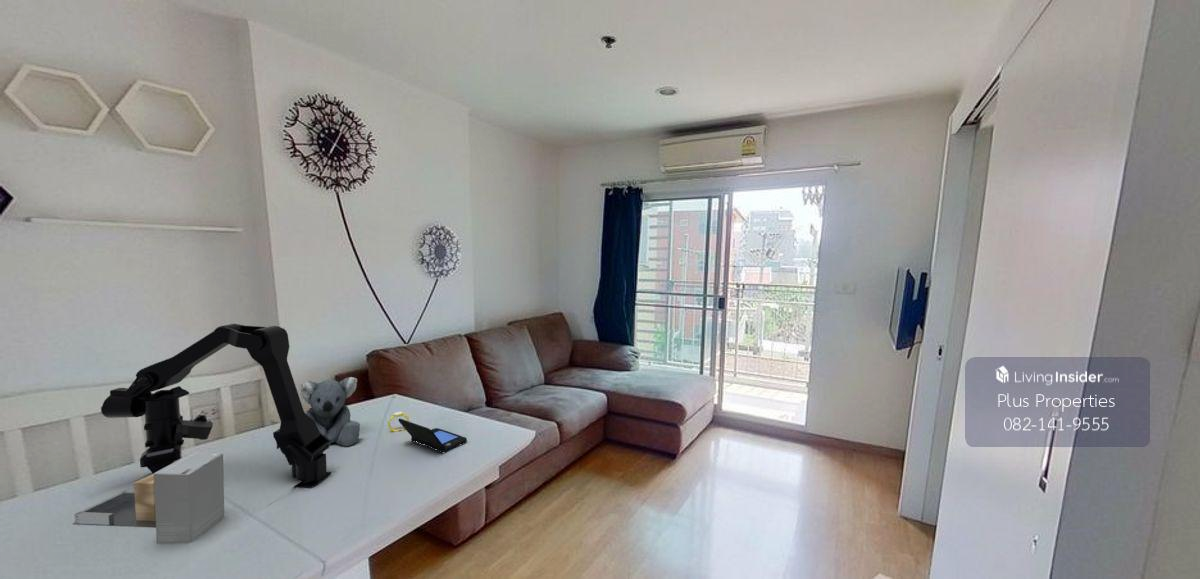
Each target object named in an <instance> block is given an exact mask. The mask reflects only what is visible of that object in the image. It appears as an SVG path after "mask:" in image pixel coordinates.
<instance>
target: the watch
mask: <svg viewBox="0 0 1200 579" xmlns="http://www.w3.org/2000/svg"><path fill="white" fill-rule="evenodd" d="M401 416H402V417H404V418H405V419H406V421H409V422H410V419H409V417H408V415H407V414H405V413H404V412H403V411H397V412H394V413H393V415H392V416H391V417H390V418H389V419H388V428H389V431H391V432H393V431H397V432H400V431H399V429H400V428H396V429H395V428H393V427H392V426H391V421H392V419H393V418H397V417H401ZM403 428H404V427H403ZM403 428H402V429H403ZM404 429H405V428H404ZM404 429H403V430H404ZM405 430H406V429H405ZM405 430H404V431H405Z"/></svg>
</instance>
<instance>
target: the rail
mask: <svg viewBox="0 0 1200 579" xmlns="http://www.w3.org/2000/svg"><path fill="white" fill-rule="evenodd" d="M73 517H74V523H72V525H78V526H79V525H83V526H104V527H105V526H106V527H107V526H109V527H128V528H130V527H131V528H134V527H135V528H152V529H156V521H142V520H136V510H135V495H134V490H124V491H121V492H119V493H117V494H115V495H112V496H110V497H108V498H106V499H104V500H101V501H99V502H97V503H96V504H93V505H91V506H89V507H87V508H84V509H83V510H80V511H78V512H76V513H74V516H73Z"/></svg>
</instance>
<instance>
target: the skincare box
mask: <svg viewBox="0 0 1200 579" xmlns="http://www.w3.org/2000/svg"><path fill="white" fill-rule="evenodd" d="M224 477H225V476H224V453H223V452H201V451H200V452H198V451H197V452H190V453H188V454H187V455H185V456H182V458H181V459H179V460H177V461H176V462H174V463H172V464H170V465H168V466H166V467H165V468H163V469H161V470H159V471H157V472H155V473H154V492H155V515H156V528H155V532H156V533H155V534H156V535H155V536H156V544H157V545H165V544H166V545H169V544H170V545H171V544H188V543H193V542H194V541H195V540H196V539H198V538H199V537H201V536H202V535H204V534H205V533H206V532H208V531H209V530H210V529H211V528H213V527H214V526H215V525H217V524H218V523H219V522H220V521H221V520H223V519H224V518H225V486H224V485H225V484H224V482H225V481H224V479H225V478H224Z"/></svg>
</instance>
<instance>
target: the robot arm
mask: <svg viewBox="0 0 1200 579" xmlns="http://www.w3.org/2000/svg"><path fill="white" fill-rule="evenodd" d="M289 339H290V338H289V335H288V332H287V330H286V329H285V328H284V327H281V326H279V325H272V326H271V325H269V326H261V325H260V326H259V325H257V326H256V325H244V324H238V323H230V324H226V325H219V326H218V327H216V328H215V329H214V330H213V331H212V332H210V333H209V334H207V335H205V336H203V337H202V338H201V339H199V340H198V341H196V342H194V343H192V344H191V345H189V346H188V347H186V348H184V349H183V350H182V351H180V352H178V353H177V354H175V355H174V356H172V357H169V358H167V359H163V360H162V361H158V362H155V363H153V364H150V365H148V366H145V367H144V368H141V369H139V370H138V371H137V372H136V373H135V377H136V378H135V379H134V381H133V382H132V383H131V384H130V386H128V388H126V387H118V388H114V389H111V390H109V396H107V397H106V398H105V399H104V401H103V403H102V406H101V407H100V411H101V414H102V415H103V417H106V418H109V419H112V418H113V419H117V418H123V419H124V418H139V417H143V416H144V426H143V430H144V431H145V439H146V440H145V443H144V446H145V448H147V449H145V451H144V452H142V453H141V456H140V458H139V466H140V468H147V469H148V470H149V471H150V472H151V473H153V474H154V473H155V472H157V471H159V470H161V469H163V468H165V467H166V466H168V465H170V464H172V463H173V462H174V461H175V460H178V459H180V458H181V455H182V452H183V451H182V446H183V445H184V443H185V439H196V440H197V439H199V440H203V441H204V440H208V439H209V436H210V434H211V430H212V428H213V423H214V422H212V420H208V419H207V415H206V414H205V415H204V414H198V415H197V416H195V418H194V419H189V420H185V419H184V417H183V415H181V412H180V398H182V397H185V396H188V395H189V394H190V391H188V390H187V389H184V388H182V387H181V386H180V385H179V386H174V385H177V384H178V383H179V384H180V382H182V381H183V380H184V379H185V378H186V377H187V376H188V375H190V373H191V371H192V369H194V367H195V366H196V365H198V364H200V363H201V362H203V361H205V360H206V359H208V358H209V357H211V356H212V355H214V354H215V353H218V352H219V351H221V350H222V349H223V348H225V347H227V346H228V345H230V346H233V347H235V348H237V349H238V348H240V349H246V350H247V351H248V354H249V356H250V357H251V359H253V361H255V362H256V363H257V364H258V365H260V366H261V367H262V370H263V372H264V375H265V376H264V377H265V379H266V382H267V383H268V387H269V390H270V393H271V396H272V399H273V402H274V406H275V408H276V411H277V416H278V417H279V420H280V425H279V428H278V429H277V430H275V431H274V432H273V433H272V434H273V439H274V441H275V442H276V449H277V450H280V452H281V453H282V454H283V455H284V457H285V458H286V461H287V463H288V465H289V466H291V477H292V478H293V479H296V480H297V481H300V482H297V484H295V485H294V487H295V488H296V487H298V488H314V487H316V486H318V485H319V484H320V483H321V482H323V481H324V480H326V479H327V478H328V477H330V476H331V475H332V472H331V471H327V454H326V453H324V452H326V450H328V449H329V448H330V445H331V441H330V440H329V439H327V438H326V437H325V436H324V435H323V434H321V433H320V431H319V429H318V427H317V426H316V424H315V422H314V420H313V419H311V418H310V417H309V416H308V415H306V412H305V410H304V406H303V405H302V401H301V398H300V395H299V392H298V390H297V386H296V384H295V380H294V378H293V375H292V371H291V368H290V365H289V363H288V362H289V361H288V355H289V350H290V340H289ZM170 386H174V387H172V388H170V389H164V388H167V387H170ZM152 392H153V393H152Z"/></svg>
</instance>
